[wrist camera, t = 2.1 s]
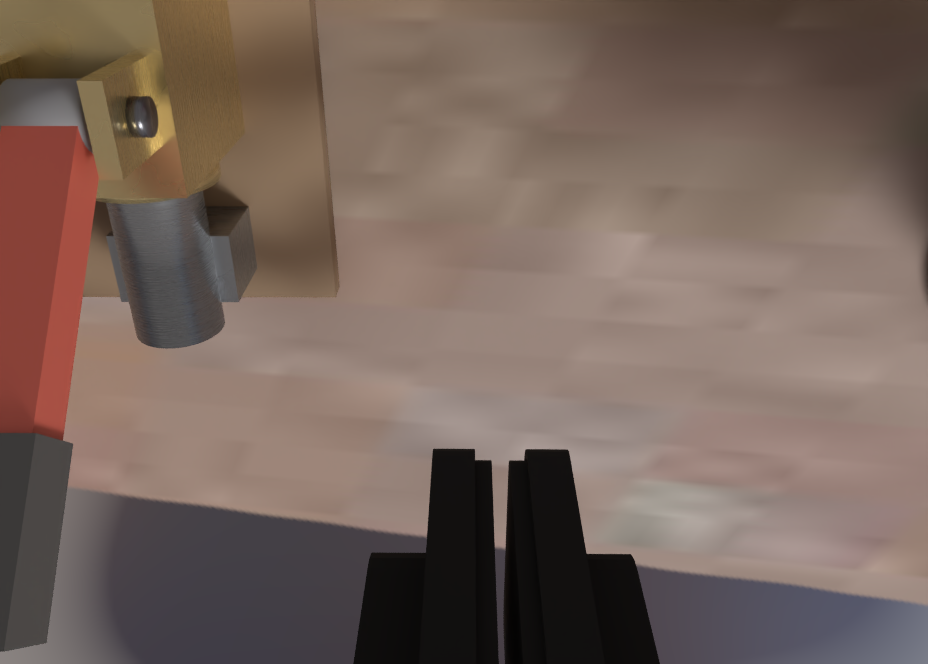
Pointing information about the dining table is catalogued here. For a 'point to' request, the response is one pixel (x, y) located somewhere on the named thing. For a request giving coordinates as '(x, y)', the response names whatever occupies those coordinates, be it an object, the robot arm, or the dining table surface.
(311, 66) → the mount board
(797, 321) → the dining table surface
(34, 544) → the lever
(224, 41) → the valve
